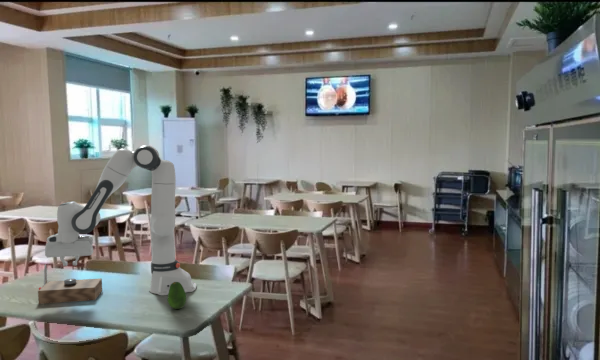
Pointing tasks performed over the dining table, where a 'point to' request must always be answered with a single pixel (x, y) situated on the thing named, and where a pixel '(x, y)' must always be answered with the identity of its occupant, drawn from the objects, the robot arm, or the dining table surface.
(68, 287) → the hitch block
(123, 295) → the dining table surface
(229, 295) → the dining table surface
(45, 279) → the tow hook
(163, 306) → the dining table surface
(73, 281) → the steel pin
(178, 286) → the avocado
